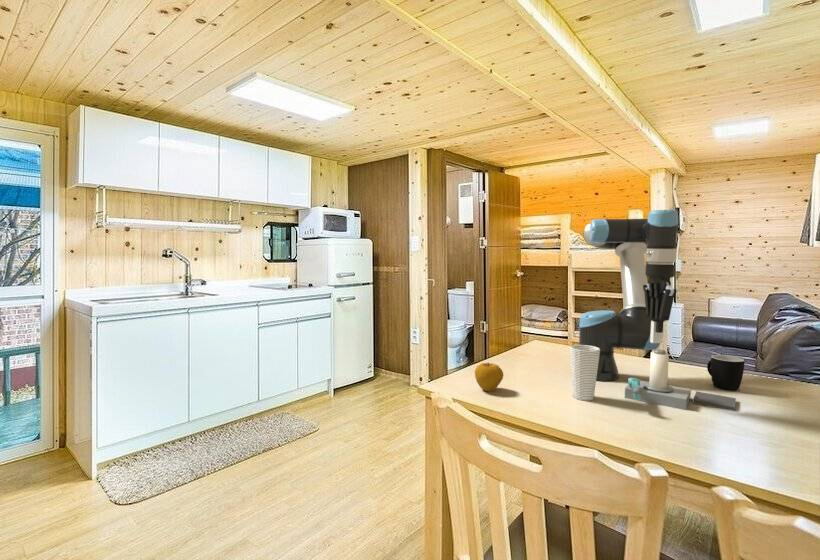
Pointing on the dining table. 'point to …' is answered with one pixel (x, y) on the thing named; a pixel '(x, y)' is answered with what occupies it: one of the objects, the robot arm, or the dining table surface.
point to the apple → (488, 376)
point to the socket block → (662, 396)
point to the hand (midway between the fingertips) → (655, 342)
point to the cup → (584, 370)
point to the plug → (658, 372)
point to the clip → (635, 387)
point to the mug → (726, 372)
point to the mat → (715, 400)
